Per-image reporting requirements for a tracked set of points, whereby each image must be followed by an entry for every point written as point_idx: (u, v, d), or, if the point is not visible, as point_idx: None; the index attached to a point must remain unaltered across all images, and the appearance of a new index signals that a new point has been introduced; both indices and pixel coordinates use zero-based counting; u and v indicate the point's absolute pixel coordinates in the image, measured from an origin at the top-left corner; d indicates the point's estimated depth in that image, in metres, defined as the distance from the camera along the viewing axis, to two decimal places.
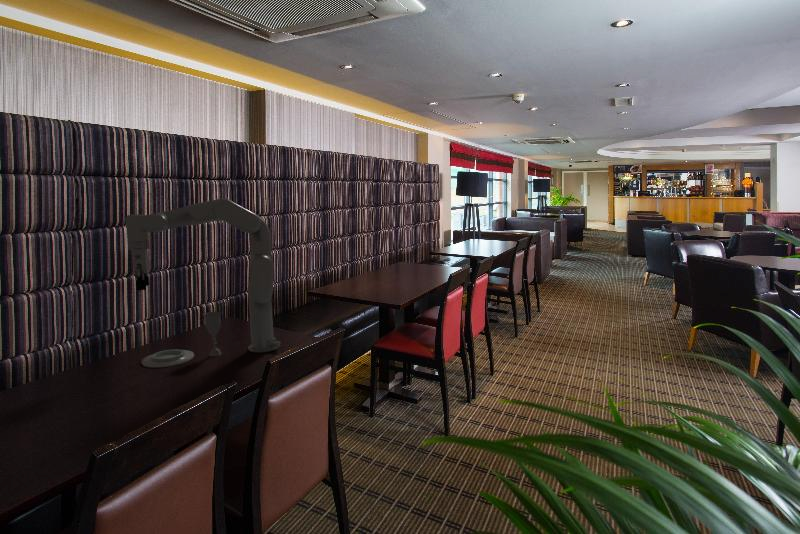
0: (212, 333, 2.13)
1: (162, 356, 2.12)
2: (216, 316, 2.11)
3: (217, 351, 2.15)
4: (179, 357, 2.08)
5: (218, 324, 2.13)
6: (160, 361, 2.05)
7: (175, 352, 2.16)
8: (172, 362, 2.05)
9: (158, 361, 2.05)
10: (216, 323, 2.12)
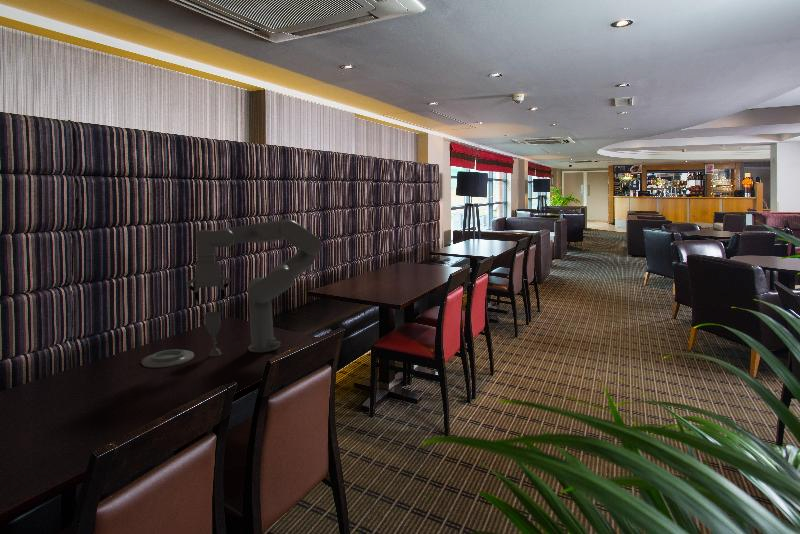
0: (212, 333, 2.13)
1: (162, 356, 2.12)
2: (216, 316, 2.11)
3: (217, 351, 2.15)
4: (179, 357, 2.08)
5: (218, 324, 2.13)
6: (160, 361, 2.05)
7: (175, 352, 2.16)
8: (172, 362, 2.05)
9: (158, 361, 2.05)
10: (216, 323, 2.12)
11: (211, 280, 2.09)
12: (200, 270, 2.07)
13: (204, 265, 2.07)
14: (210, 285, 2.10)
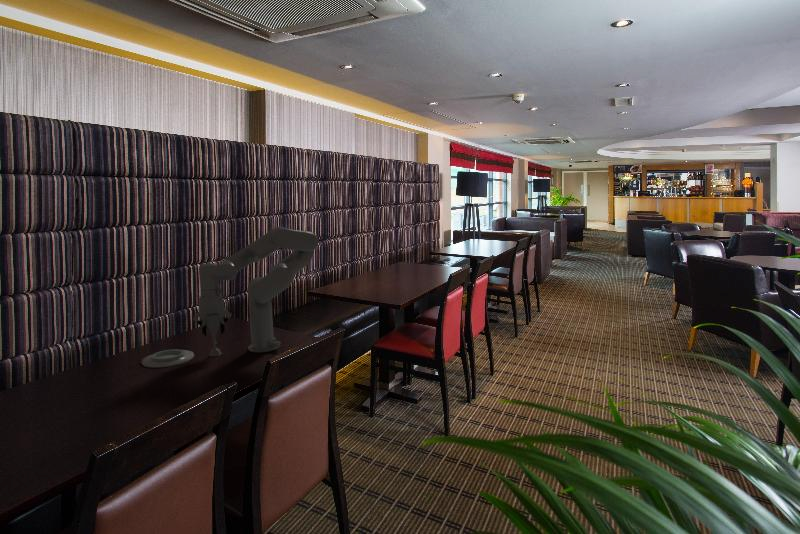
0: (212, 333, 2.13)
1: (162, 356, 2.12)
2: (216, 316, 2.11)
3: (217, 351, 2.15)
4: (179, 357, 2.08)
5: (218, 324, 2.13)
6: (160, 361, 2.05)
7: (175, 352, 2.16)
8: (172, 362, 2.05)
9: (158, 361, 2.05)
10: (216, 323, 2.12)
11: (214, 313, 2.12)
12: (204, 303, 2.09)
13: (207, 298, 2.09)
14: None
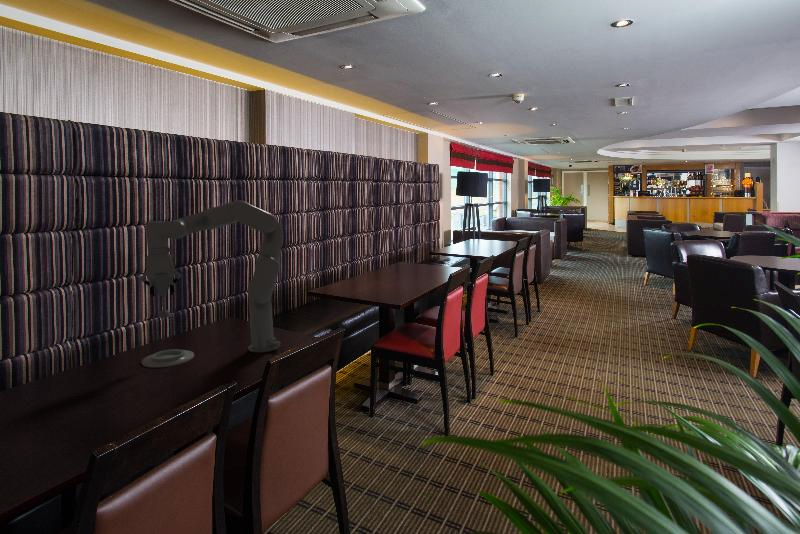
0: (160, 294, 2.05)
1: (162, 356, 2.12)
2: (164, 276, 2.04)
3: (166, 313, 2.07)
4: (179, 357, 2.08)
5: (167, 284, 2.05)
6: (160, 361, 2.05)
7: (175, 352, 2.16)
8: (172, 362, 2.05)
9: (158, 361, 2.05)
10: (164, 283, 2.04)
11: (162, 273, 2.04)
12: (151, 262, 2.02)
13: (155, 257, 2.02)
14: None
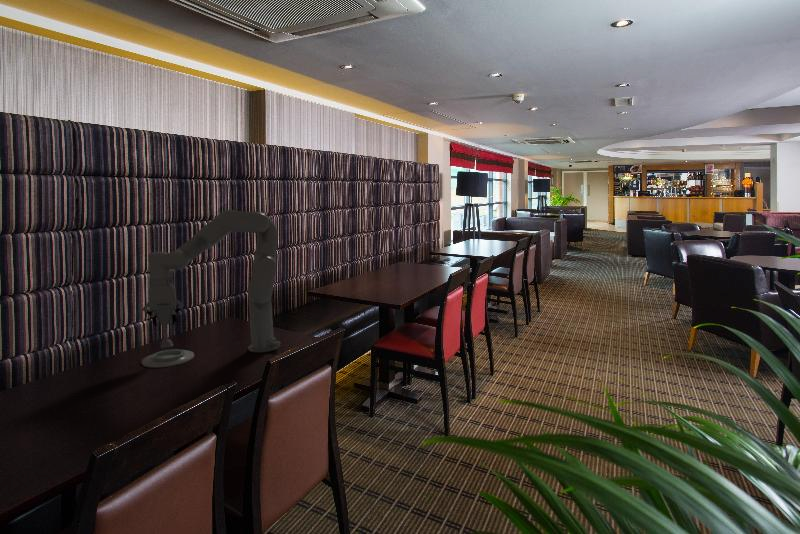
0: (163, 323, 2.07)
1: (162, 356, 2.12)
2: (166, 306, 2.06)
3: (168, 342, 2.09)
4: (179, 357, 2.08)
5: (169, 314, 2.07)
6: (160, 361, 2.05)
7: (175, 352, 2.16)
8: (172, 362, 2.05)
9: (158, 361, 2.05)
10: (166, 313, 2.06)
11: (165, 303, 2.06)
12: (153, 293, 2.03)
13: (157, 288, 2.04)
14: None
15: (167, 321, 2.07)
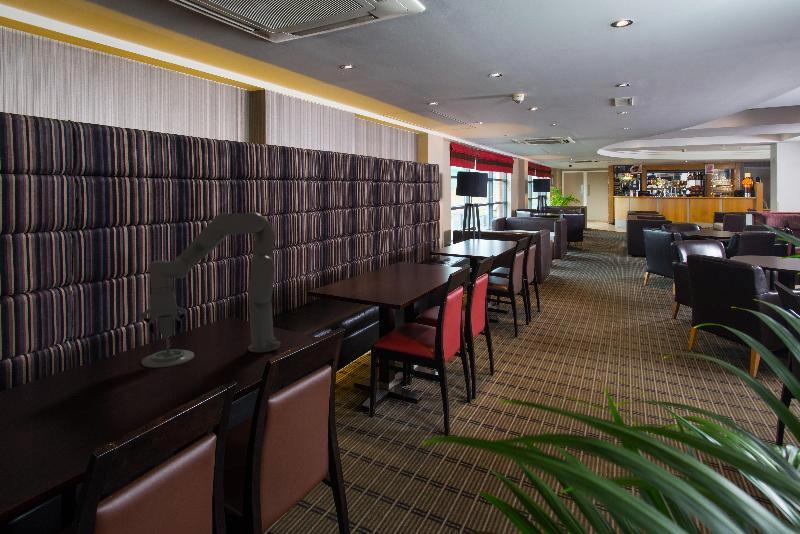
0: (165, 335, 2.08)
1: (162, 356, 2.12)
2: (169, 318, 2.06)
3: (170, 354, 2.10)
4: (179, 357, 2.08)
5: (171, 326, 2.08)
6: (160, 361, 2.05)
7: (175, 352, 2.16)
8: (172, 362, 2.05)
9: (158, 361, 2.05)
10: (168, 325, 2.07)
11: (166, 312, 2.06)
12: (154, 302, 2.04)
13: (158, 297, 2.04)
14: (165, 316, 2.07)
15: (169, 333, 2.08)
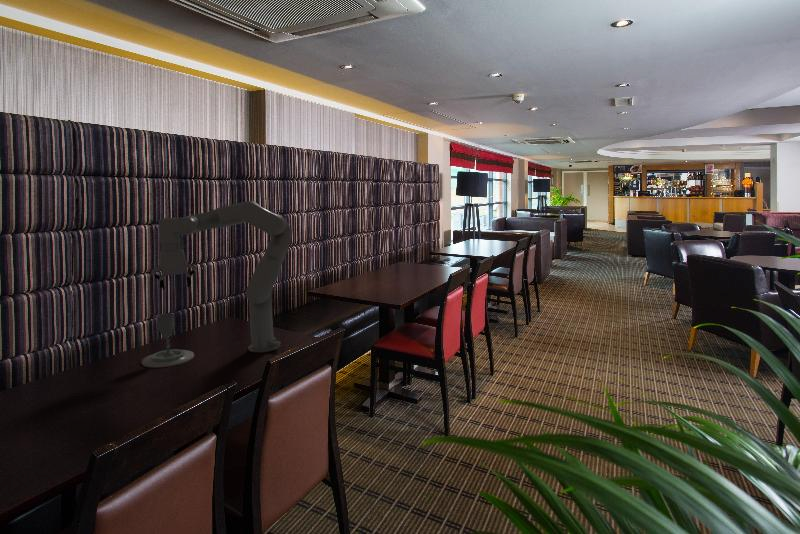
0: (165, 335, 2.08)
1: (162, 356, 2.12)
2: (169, 318, 2.06)
3: (170, 354, 2.10)
4: (179, 357, 2.08)
5: (171, 326, 2.08)
6: (160, 361, 2.05)
7: (175, 352, 2.16)
8: (172, 362, 2.05)
9: (158, 361, 2.05)
10: (168, 325, 2.07)
11: (176, 268, 2.09)
12: (165, 258, 2.07)
13: (168, 253, 2.07)
14: (175, 273, 2.10)
15: (169, 333, 2.08)
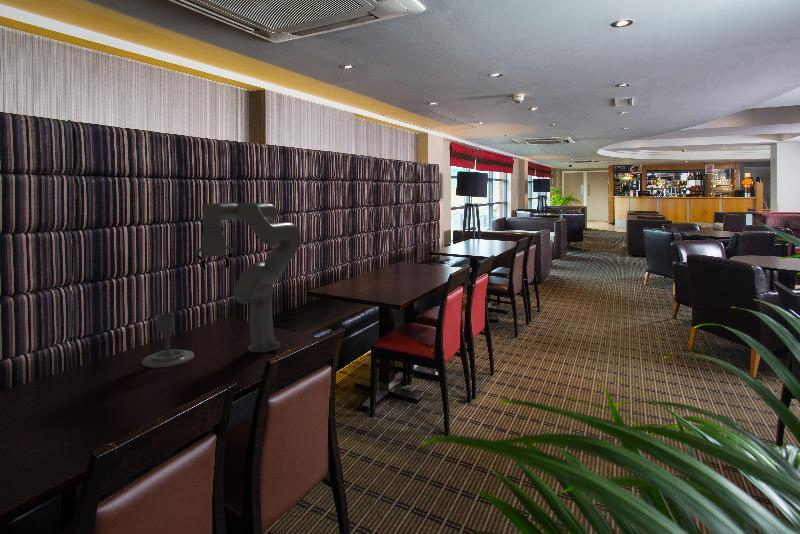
0: (165, 335, 2.08)
1: (162, 356, 2.12)
2: (169, 318, 2.06)
3: (170, 354, 2.10)
4: (179, 357, 2.08)
5: (171, 326, 2.08)
6: (160, 361, 2.05)
7: (175, 352, 2.16)
8: (172, 362, 2.05)
9: (158, 361, 2.05)
10: (168, 325, 2.07)
11: (216, 250, 2.27)
12: (207, 240, 2.25)
13: (210, 235, 2.25)
14: (215, 254, 2.28)
15: (169, 333, 2.08)
